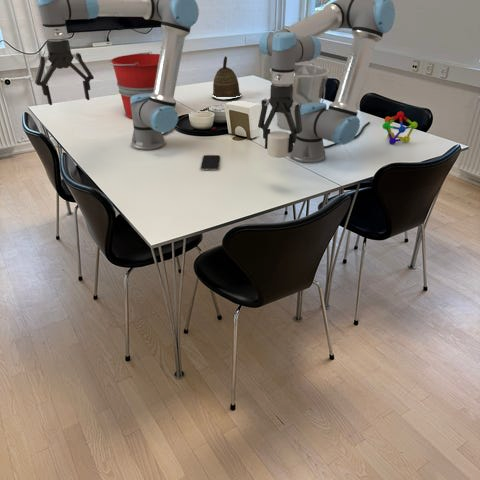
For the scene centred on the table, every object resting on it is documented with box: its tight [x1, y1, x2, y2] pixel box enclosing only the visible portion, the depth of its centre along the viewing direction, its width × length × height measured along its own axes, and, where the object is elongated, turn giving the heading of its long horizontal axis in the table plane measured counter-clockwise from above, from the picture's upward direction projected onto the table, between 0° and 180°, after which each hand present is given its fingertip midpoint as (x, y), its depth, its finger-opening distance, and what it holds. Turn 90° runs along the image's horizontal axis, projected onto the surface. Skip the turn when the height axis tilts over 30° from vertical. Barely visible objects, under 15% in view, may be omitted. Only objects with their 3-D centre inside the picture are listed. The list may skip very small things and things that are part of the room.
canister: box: [266, 130, 291, 159], centre depth 158 cm, size 8×8×7 cm
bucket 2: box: [269, 63, 330, 131], centre depth 226 cm, size 30×30×28 cm
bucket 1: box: [107, 51, 160, 120], centre depth 242 cm, size 35×35×30 cm
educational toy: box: [382, 110, 418, 145], centre depth 207 cm, size 16×13×15 cm
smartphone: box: [200, 154, 221, 171], centre depth 188 cm, size 7×1×15 cm
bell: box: [212, 56, 242, 97], centre depth 278 cm, size 19×26×20 cm
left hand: (69, 101), depth 165 cm, fingers open, 13 cm apart
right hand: (278, 149), depth 159 cm, fingers closed on canister, 8 cm apart
